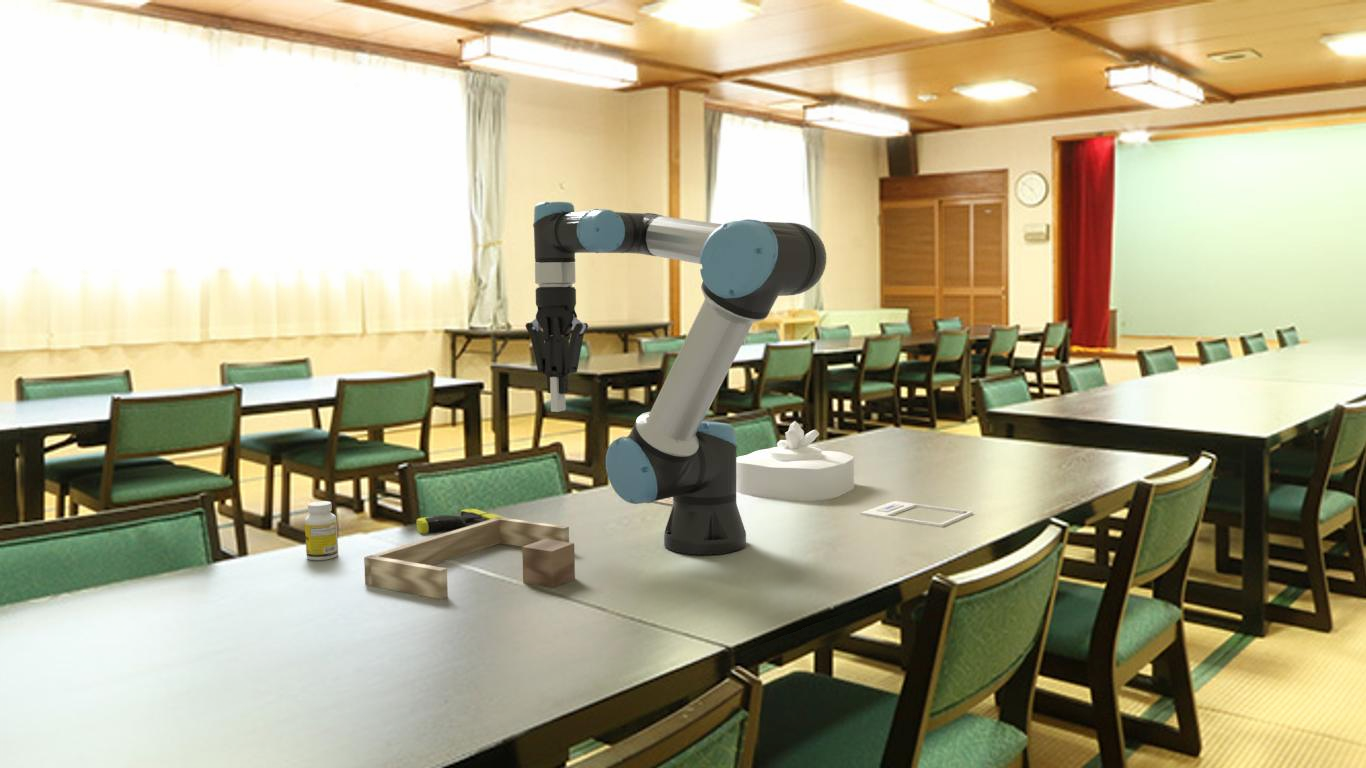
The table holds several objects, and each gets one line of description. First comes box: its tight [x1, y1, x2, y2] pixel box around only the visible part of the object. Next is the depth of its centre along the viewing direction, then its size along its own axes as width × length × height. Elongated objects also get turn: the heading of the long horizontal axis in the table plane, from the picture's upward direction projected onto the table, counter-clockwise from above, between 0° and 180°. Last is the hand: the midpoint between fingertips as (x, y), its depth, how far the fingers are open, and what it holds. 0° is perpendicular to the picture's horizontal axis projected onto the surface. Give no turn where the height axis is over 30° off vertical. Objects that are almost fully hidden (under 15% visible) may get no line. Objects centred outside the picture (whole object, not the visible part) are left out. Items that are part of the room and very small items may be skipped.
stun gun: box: [415, 508, 506, 535], centre depth 206 cm, size 3×19×15 cm
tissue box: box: [736, 420, 855, 501], centre depth 245 cm, size 25×25×16 cm
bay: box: [363, 516, 570, 600], centre depth 180 cm, size 16×33×4 cm, turn 149°
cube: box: [521, 539, 576, 589], centre depth 172 cm, size 6×6×6 cm
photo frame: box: [860, 500, 974, 528], centre depth 218 cm, size 15×1×18 cm
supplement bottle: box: [304, 500, 339, 561], centre depth 188 cm, size 5×5×10 cm
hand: (558, 410), depth 199 cm, fingers closed
